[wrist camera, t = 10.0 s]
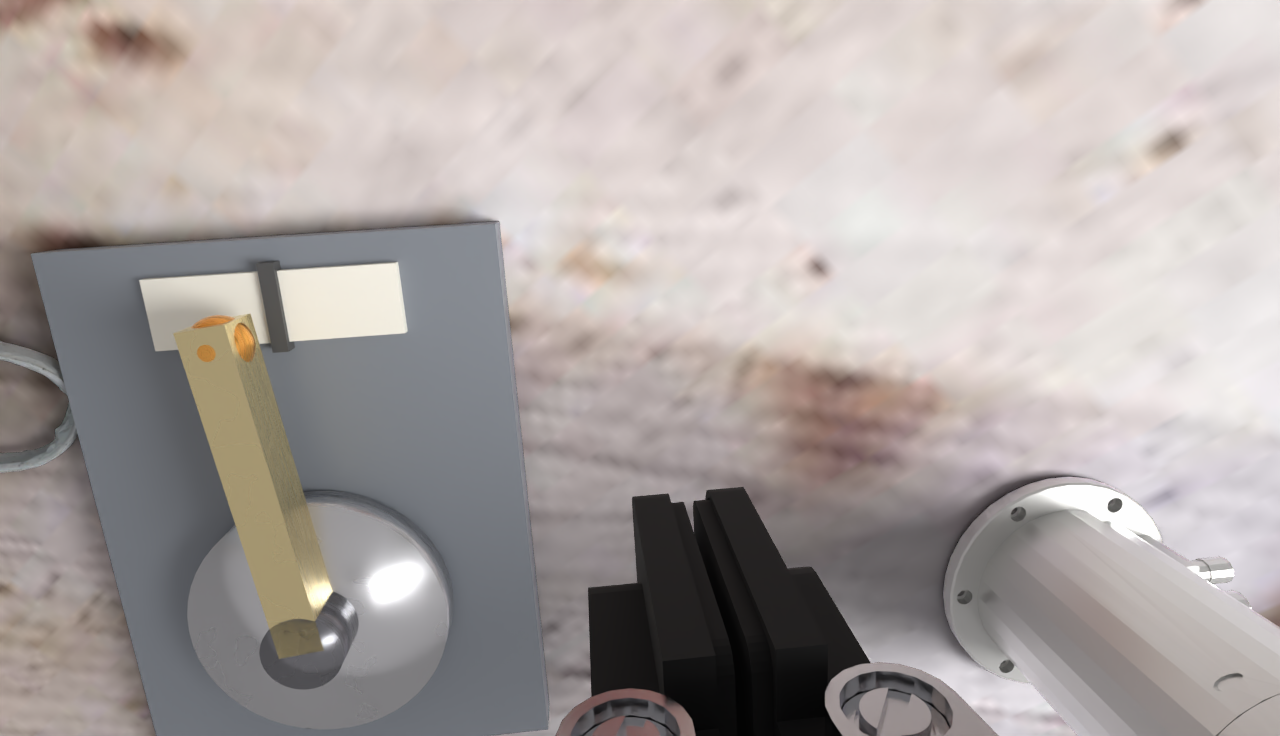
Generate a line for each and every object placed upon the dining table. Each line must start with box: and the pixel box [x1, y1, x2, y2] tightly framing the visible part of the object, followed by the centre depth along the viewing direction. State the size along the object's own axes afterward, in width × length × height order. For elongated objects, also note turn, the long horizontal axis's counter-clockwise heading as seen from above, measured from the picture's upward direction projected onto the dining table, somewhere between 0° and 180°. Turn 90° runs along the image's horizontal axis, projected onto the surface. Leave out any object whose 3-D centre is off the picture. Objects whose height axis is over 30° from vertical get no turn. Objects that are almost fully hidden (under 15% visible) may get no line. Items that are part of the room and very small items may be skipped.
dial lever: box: [173, 314, 454, 730], centre depth 35 cm, size 21×12×4 cm, turn 9°
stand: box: [31, 221, 549, 736], centre depth 37 cm, size 20×27×3 cm
